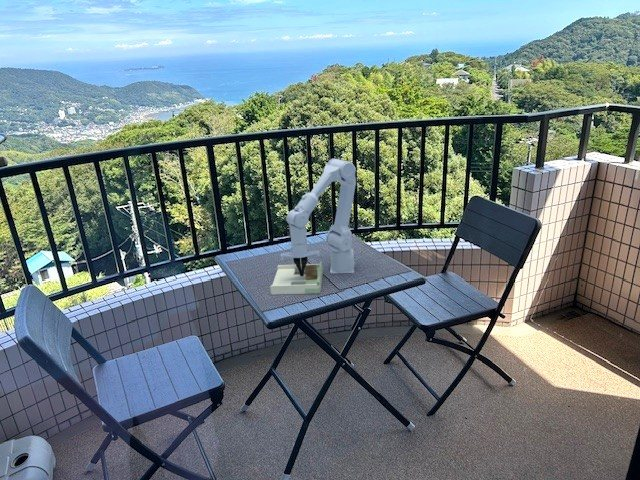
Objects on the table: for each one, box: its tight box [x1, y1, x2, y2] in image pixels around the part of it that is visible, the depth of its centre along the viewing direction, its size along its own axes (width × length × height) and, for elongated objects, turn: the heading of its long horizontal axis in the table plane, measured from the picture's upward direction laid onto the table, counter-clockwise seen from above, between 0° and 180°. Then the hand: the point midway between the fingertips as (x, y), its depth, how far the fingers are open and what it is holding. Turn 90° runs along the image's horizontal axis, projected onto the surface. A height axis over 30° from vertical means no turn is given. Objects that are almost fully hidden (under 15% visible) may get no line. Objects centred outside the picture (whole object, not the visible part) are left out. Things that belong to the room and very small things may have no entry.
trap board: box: [269, 261, 324, 296], centre depth 168 cm, size 18×18×4 cm
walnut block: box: [305, 265, 318, 280], centre depth 167 cm, size 4×4×4 cm
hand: (301, 275), depth 167 cm, fingers closed
